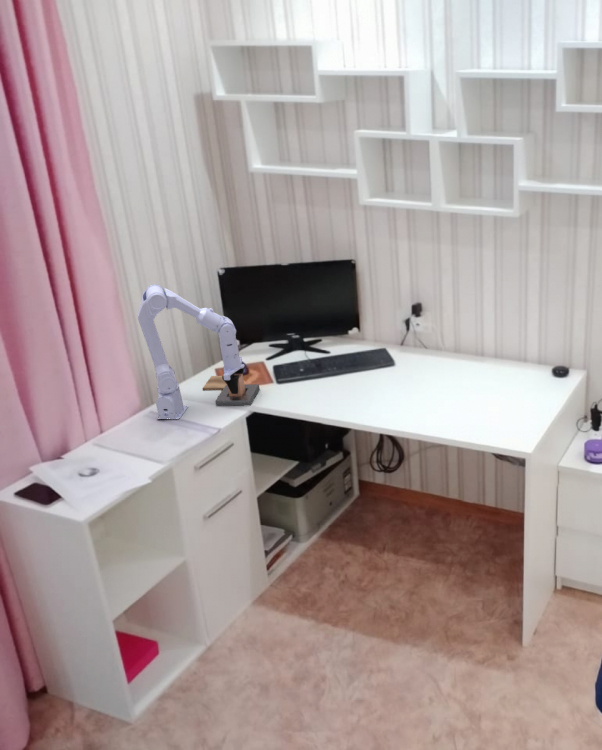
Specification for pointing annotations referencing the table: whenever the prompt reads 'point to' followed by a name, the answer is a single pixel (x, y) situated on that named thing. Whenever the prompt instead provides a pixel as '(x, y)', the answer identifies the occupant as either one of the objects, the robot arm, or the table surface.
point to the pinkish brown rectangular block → (239, 387)
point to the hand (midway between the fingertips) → (236, 390)
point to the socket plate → (240, 400)
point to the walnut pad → (215, 383)
